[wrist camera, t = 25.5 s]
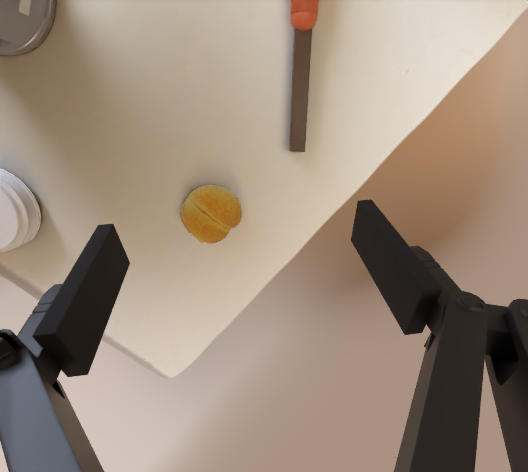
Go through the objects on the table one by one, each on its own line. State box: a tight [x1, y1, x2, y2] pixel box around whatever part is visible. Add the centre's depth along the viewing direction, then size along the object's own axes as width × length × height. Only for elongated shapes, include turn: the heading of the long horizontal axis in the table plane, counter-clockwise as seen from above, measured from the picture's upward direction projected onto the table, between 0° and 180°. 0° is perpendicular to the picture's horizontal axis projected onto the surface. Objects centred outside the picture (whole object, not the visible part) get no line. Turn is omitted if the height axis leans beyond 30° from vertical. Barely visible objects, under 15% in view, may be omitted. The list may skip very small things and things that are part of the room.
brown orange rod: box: [289, 0, 318, 152], centre depth 36 cm, size 26×3×3 cm, turn 179°
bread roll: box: [181, 184, 241, 243], centre depth 43 cm, size 8×9×4 cm
